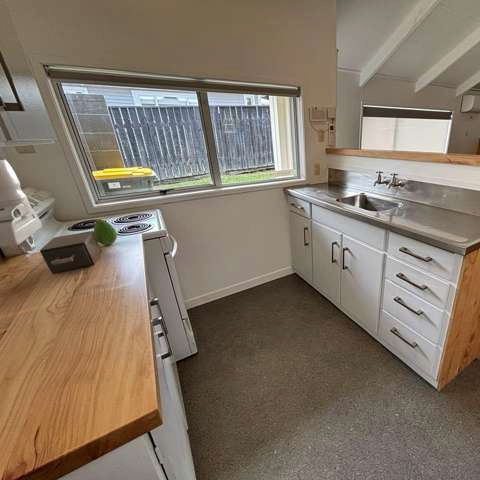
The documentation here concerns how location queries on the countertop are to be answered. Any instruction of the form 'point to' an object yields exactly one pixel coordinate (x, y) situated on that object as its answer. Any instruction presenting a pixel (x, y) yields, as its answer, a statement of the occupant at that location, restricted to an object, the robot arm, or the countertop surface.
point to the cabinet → (73, 240)
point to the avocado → (104, 232)
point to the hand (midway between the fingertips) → (31, 249)
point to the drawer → (66, 258)
